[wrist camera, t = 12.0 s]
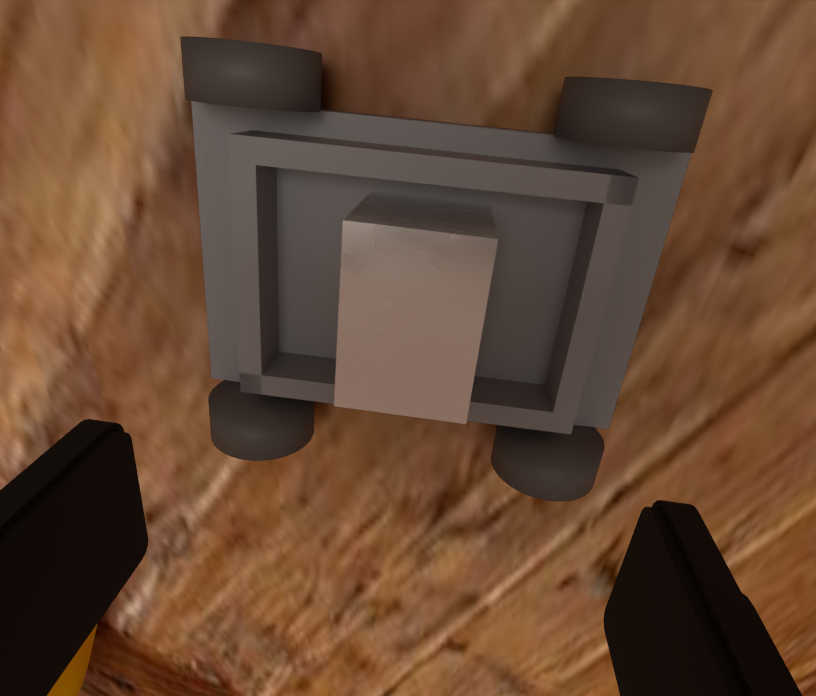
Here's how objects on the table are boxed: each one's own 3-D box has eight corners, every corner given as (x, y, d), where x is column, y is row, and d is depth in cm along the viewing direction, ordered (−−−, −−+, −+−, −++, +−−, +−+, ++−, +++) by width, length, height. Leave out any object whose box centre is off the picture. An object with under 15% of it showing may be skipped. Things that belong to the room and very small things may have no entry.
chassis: (693, 93, 21) (755, 92, 17) (592, 445, 29) (616, 509, 24) (203, 44, 22) (137, 30, 18) (225, 397, 30) (182, 451, 25)
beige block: (489, 205, 23) (498, 239, 17) (465, 354, 26) (466, 424, 20) (371, 191, 23) (342, 220, 17) (361, 341, 26) (333, 406, 20)
